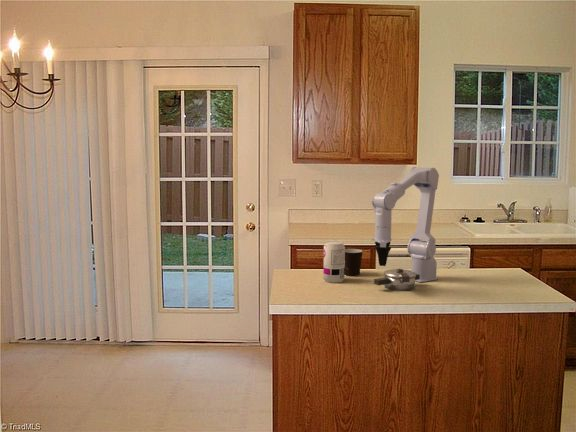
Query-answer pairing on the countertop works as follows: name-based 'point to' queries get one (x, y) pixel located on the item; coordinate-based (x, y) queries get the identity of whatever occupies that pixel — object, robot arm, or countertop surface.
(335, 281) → the supplement can
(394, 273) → the lid
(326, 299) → the countertop surface
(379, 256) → the robot arm
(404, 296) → the countertop surface
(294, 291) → the countertop surface
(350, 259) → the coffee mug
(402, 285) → the pot
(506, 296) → the countertop surface
